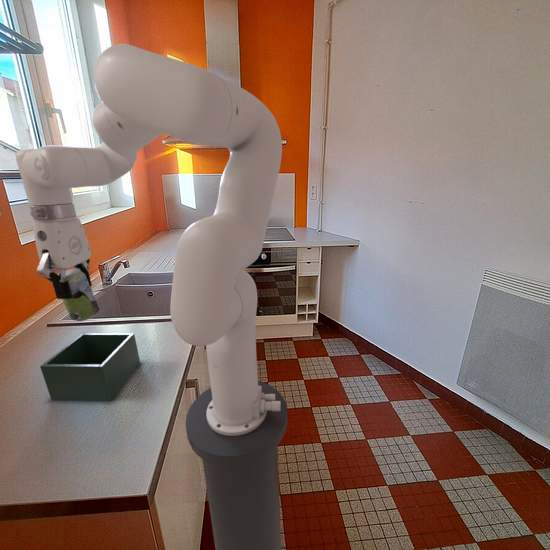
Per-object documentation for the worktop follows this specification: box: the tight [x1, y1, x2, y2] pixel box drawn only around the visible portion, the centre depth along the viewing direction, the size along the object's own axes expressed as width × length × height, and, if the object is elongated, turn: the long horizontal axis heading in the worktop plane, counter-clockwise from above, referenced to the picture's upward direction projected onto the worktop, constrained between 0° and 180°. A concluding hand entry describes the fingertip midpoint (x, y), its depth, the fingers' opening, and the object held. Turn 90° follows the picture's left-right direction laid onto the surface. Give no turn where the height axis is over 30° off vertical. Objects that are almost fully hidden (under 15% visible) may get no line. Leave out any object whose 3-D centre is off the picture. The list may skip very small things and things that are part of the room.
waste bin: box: [39, 332, 141, 402], centre depth 76 cm, size 15×15×10 cm
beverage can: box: [57, 267, 100, 322], centre depth 70 cm, size 6×7×12 cm
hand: (75, 291), depth 69 cm, fingers closed on beverage can, 6 cm apart
